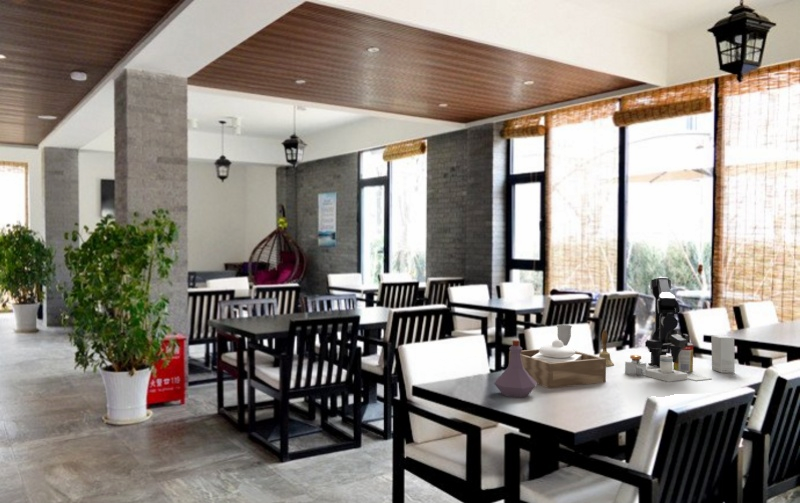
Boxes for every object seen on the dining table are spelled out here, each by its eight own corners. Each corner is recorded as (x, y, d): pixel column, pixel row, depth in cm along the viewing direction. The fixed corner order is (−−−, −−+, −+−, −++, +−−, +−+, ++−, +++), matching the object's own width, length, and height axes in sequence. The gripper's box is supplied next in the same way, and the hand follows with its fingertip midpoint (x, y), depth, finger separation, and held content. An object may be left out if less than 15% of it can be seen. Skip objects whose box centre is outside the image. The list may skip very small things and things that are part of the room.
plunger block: (625, 373, 266) (625, 361, 266) (635, 371, 269) (635, 360, 269) (635, 375, 261) (635, 364, 261) (646, 374, 263) (646, 363, 263)
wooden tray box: (508, 373, 263) (509, 351, 263) (561, 368, 275) (561, 347, 274) (549, 388, 238) (549, 363, 238) (605, 381, 249) (606, 358, 249)
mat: (678, 376, 260) (678, 375, 260) (693, 374, 264) (693, 374, 264) (696, 381, 252) (696, 380, 252) (711, 379, 255) (711, 378, 255)
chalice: (552, 363, 286) (553, 325, 285) (564, 362, 289) (564, 324, 288) (563, 366, 279) (563, 327, 279) (574, 365, 282) (575, 326, 282)
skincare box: (734, 373, 268) (735, 337, 268) (719, 373, 268) (720, 337, 268) (725, 369, 276) (725, 334, 276) (710, 369, 276) (710, 334, 276)
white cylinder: (657, 376, 260) (657, 355, 260) (665, 375, 262) (665, 354, 261) (666, 379, 255) (666, 357, 255) (674, 378, 257) (675, 356, 257)
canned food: (688, 368, 277) (689, 342, 277) (695, 372, 269) (696, 345, 269) (670, 368, 278) (671, 341, 278) (677, 371, 270) (677, 344, 270)
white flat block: (645, 375, 262) (645, 369, 262) (664, 373, 266) (664, 367, 266) (667, 381, 251) (667, 375, 251) (687, 379, 255) (687, 373, 255)
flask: (506, 387, 239) (507, 336, 239) (545, 393, 229) (546, 340, 228) (484, 395, 227) (485, 341, 226) (524, 402, 216) (525, 346, 216)
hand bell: (595, 365, 282) (595, 331, 282) (595, 362, 290) (595, 328, 290) (614, 366, 280) (615, 332, 279) (613, 363, 288) (614, 329, 287)
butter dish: (529, 379, 252) (529, 340, 252) (540, 370, 268) (541, 334, 268) (572, 384, 244) (573, 344, 244) (581, 375, 260) (582, 338, 260)
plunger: (627, 371, 266) (628, 355, 266) (635, 370, 268) (635, 354, 267) (635, 373, 262) (635, 357, 262) (643, 372, 264) (643, 356, 263)
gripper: (665, 330, 247) (665, 369, 247) (698, 328, 255) (698, 365, 255) (644, 326, 257) (643, 363, 257) (676, 324, 265) (676, 360, 265)
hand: (666, 363), depth 258 cm, fingers open, 9 cm apart
